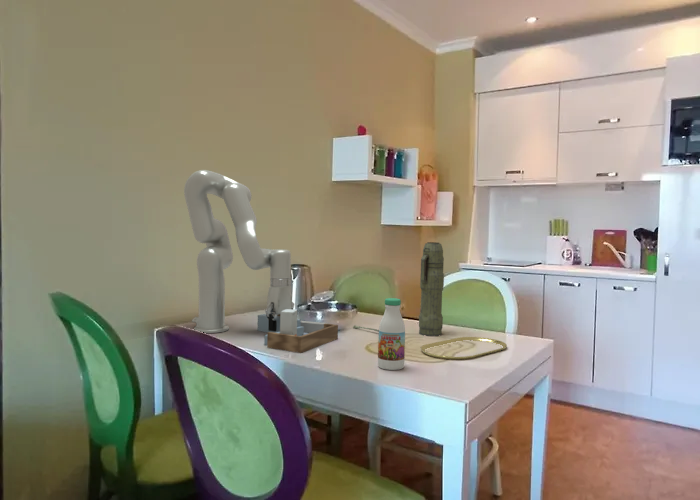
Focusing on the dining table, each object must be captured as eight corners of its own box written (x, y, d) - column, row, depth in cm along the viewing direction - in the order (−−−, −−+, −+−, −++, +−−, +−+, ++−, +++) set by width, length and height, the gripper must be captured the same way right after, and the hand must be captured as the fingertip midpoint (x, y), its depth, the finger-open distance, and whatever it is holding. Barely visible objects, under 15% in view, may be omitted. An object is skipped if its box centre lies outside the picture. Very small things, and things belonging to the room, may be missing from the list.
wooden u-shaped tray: (267, 347, 172) (267, 332, 172) (306, 334, 194) (306, 321, 193) (301, 352, 166) (301, 337, 166) (337, 338, 188) (338, 324, 187)
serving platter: (517, 348, 181) (517, 344, 181) (455, 365, 157) (455, 359, 157) (471, 338, 195) (472, 334, 195) (409, 352, 171) (409, 347, 171)
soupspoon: (389, 342, 189) (401, 340, 194) (390, 333, 189) (402, 331, 193) (348, 330, 205) (360, 328, 210) (349, 321, 205) (361, 320, 209)
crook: (226, 338, 185) (226, 321, 185) (263, 329, 202) (264, 314, 201) (267, 346, 175) (267, 328, 174) (303, 336, 191) (303, 320, 191)
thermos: (412, 334, 198) (414, 242, 196) (428, 329, 207) (431, 241, 205) (432, 338, 192) (435, 243, 190) (448, 333, 201) (451, 242, 200)
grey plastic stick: (296, 332, 198) (296, 321, 198) (299, 330, 201) (299, 320, 201) (325, 335, 194) (325, 324, 194) (328, 333, 197) (328, 323, 197)
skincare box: (291, 348, 171) (292, 312, 171) (279, 347, 172) (279, 311, 172) (297, 344, 177) (297, 309, 177) (285, 343, 178) (285, 308, 178)
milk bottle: (376, 363, 156) (377, 296, 155) (401, 363, 156) (403, 297, 155) (379, 370, 148) (381, 300, 147) (406, 370, 149) (408, 301, 147)
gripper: (285, 280, 202) (284, 323, 203) (257, 284, 187) (257, 331, 188) (301, 281, 199) (301, 325, 200) (275, 285, 184) (274, 333, 184)
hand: (280, 328), depth 194 cm, fingers open, 9 cm apart
